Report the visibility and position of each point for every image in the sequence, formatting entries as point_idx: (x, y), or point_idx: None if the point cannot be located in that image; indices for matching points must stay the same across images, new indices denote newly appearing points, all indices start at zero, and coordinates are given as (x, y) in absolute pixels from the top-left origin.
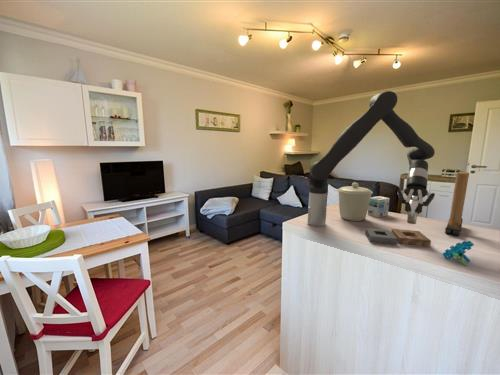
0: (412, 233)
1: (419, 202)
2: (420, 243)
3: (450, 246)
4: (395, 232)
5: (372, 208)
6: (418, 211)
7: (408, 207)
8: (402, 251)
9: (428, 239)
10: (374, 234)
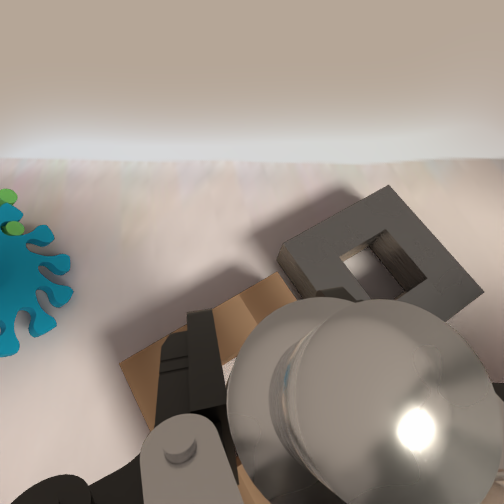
0: None
1: (218, 442)
2: None
3: (12, 353)
4: None
5: None
6: (202, 311)
7: None
8: (234, 208)
9: (133, 376)
10: (390, 220)
